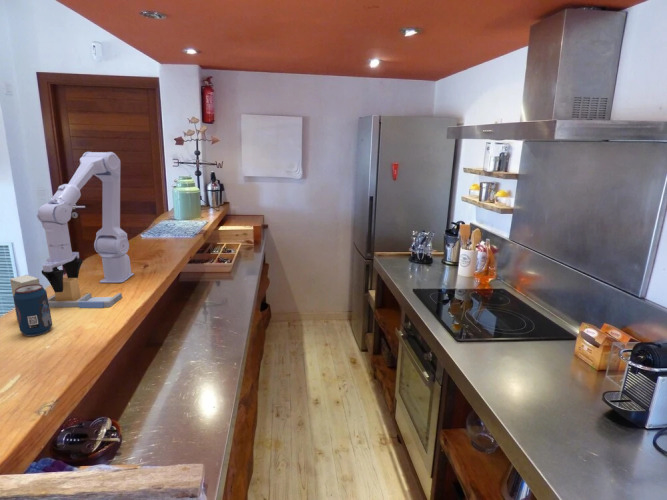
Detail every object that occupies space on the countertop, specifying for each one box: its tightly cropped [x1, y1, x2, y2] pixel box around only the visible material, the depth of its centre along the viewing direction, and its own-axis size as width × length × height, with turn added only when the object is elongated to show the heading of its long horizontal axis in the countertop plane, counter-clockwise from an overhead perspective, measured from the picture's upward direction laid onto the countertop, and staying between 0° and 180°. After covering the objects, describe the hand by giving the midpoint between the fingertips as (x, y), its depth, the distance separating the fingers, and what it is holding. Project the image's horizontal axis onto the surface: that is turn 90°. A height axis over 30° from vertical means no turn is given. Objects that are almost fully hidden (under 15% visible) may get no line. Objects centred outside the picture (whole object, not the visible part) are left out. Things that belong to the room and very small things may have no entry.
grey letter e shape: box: [48, 292, 123, 309], centre depth 127 cm, size 8×20×2 cm, turn 92°
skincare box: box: [9, 274, 41, 321], centre depth 113 cm, size 6×4×12 cm
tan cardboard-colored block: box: [54, 277, 82, 301], centre depth 127 cm, size 4×5×7 cm
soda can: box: [12, 284, 53, 337], centre depth 107 cm, size 7×7×12 cm
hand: (66, 287), depth 127 cm, fingers open, 7 cm apart
